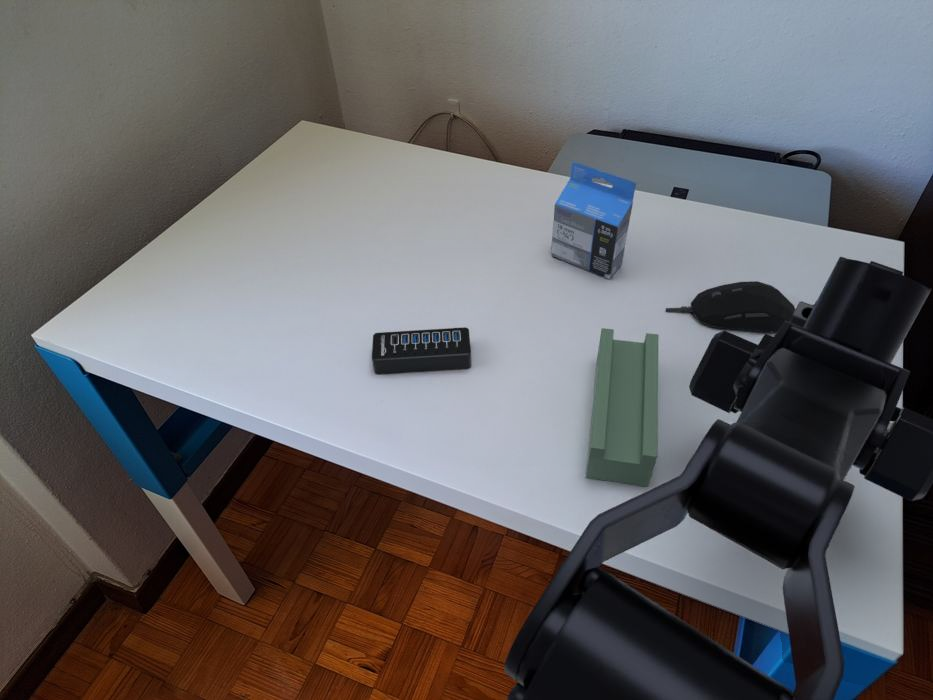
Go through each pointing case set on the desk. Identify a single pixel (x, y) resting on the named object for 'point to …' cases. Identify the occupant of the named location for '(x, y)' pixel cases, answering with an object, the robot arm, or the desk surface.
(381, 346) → the multiport hub
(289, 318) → the desk surface
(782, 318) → the gaming mouse
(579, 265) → the blue product box
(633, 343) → the high rail
